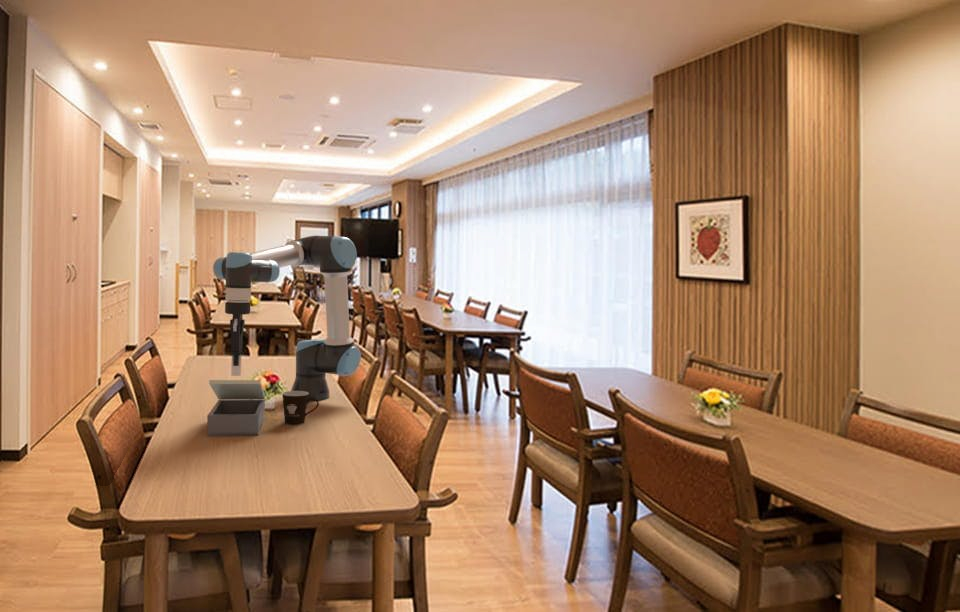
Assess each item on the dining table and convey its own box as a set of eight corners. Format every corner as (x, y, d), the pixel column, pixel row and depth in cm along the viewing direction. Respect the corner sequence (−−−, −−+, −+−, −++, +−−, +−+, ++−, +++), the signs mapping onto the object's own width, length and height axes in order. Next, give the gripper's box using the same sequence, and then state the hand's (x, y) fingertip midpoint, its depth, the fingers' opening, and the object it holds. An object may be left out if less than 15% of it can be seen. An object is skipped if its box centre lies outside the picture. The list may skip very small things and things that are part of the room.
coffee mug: (276, 422, 224) (276, 393, 223) (294, 418, 232) (295, 389, 231) (302, 428, 219) (302, 398, 218) (319, 423, 226) (320, 394, 226)
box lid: (264, 399, 229) (265, 396, 229) (259, 383, 209) (260, 380, 209) (218, 399, 225) (218, 396, 226) (209, 383, 205) (209, 380, 206)
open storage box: (264, 418, 229) (264, 399, 229) (258, 435, 208) (258, 415, 207) (218, 418, 226) (218, 399, 225) (207, 436, 204) (207, 415, 204)
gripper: (228, 299, 215) (226, 371, 216) (222, 302, 202) (220, 379, 203) (252, 300, 216) (250, 372, 218) (248, 303, 204) (246, 379, 205)
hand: (236, 375), depth 211 cm, fingers closed
